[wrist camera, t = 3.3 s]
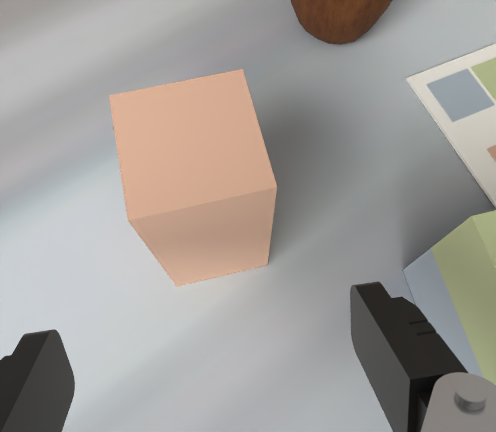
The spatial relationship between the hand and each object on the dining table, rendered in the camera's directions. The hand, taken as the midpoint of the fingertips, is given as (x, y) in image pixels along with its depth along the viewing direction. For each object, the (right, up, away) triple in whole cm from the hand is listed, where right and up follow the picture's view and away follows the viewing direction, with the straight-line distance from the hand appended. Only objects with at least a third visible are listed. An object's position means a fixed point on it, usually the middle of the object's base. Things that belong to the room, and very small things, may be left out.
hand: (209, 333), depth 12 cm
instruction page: (+17, +9, +15) cm, 24 cm away
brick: (-1, +2, +13) cm, 13 cm away
